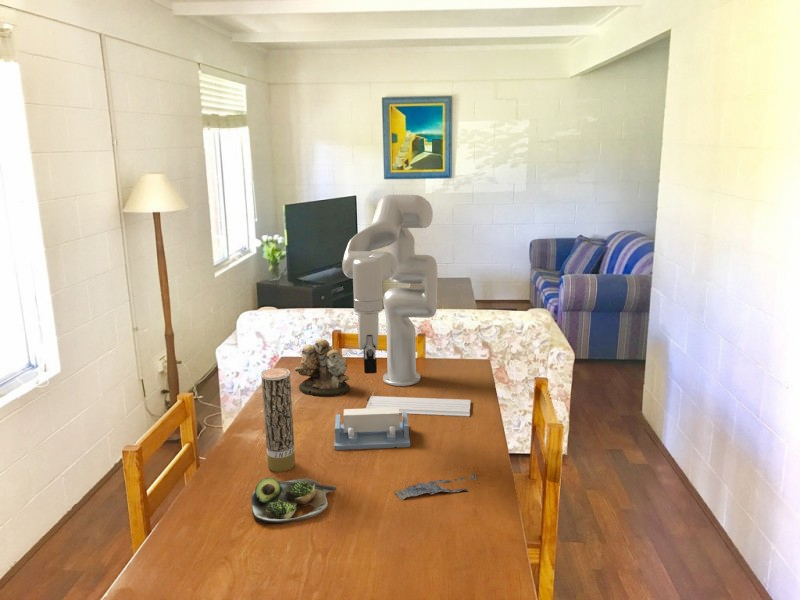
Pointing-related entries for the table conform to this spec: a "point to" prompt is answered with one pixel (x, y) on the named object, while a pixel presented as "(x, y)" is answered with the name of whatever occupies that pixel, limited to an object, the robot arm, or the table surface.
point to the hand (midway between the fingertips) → (370, 366)
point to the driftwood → (428, 488)
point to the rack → (371, 437)
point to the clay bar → (371, 419)
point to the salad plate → (287, 499)
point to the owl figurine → (323, 370)
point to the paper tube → (278, 419)
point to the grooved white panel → (423, 405)
